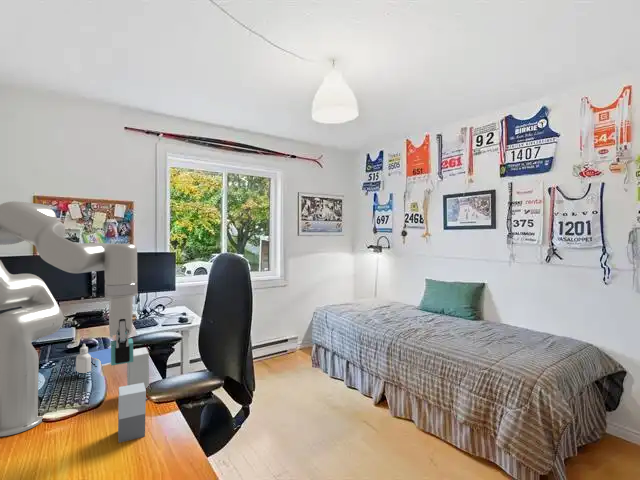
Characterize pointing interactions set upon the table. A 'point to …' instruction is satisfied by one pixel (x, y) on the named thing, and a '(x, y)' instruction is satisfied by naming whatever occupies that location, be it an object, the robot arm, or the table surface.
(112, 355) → the teal block
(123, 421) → the tower base
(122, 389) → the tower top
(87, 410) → the table surface
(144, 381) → the skincare box
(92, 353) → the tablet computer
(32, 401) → the robot arm
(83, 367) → the eye dropper bottle
